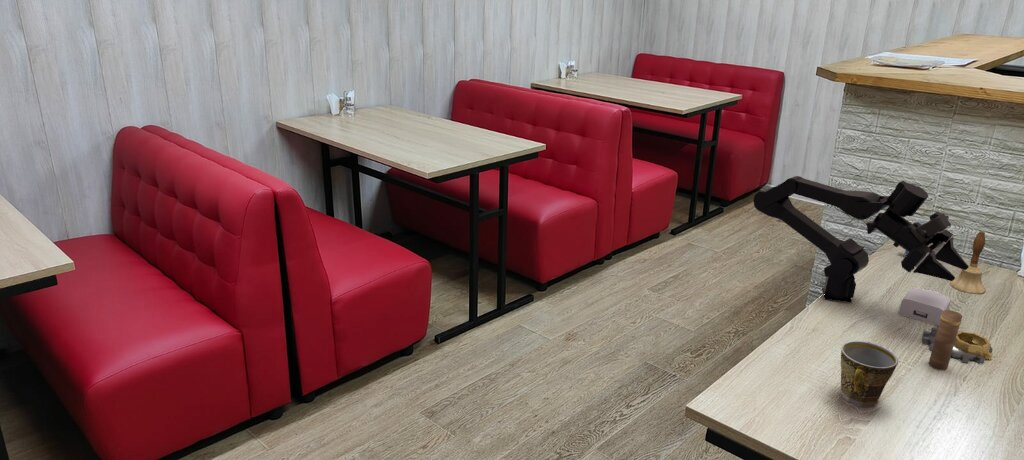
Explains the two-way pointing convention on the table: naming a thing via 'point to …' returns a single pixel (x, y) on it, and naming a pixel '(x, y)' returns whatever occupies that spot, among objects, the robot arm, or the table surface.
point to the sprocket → (964, 346)
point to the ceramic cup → (865, 372)
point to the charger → (924, 305)
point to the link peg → (945, 339)
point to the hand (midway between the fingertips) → (960, 273)
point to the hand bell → (972, 270)
